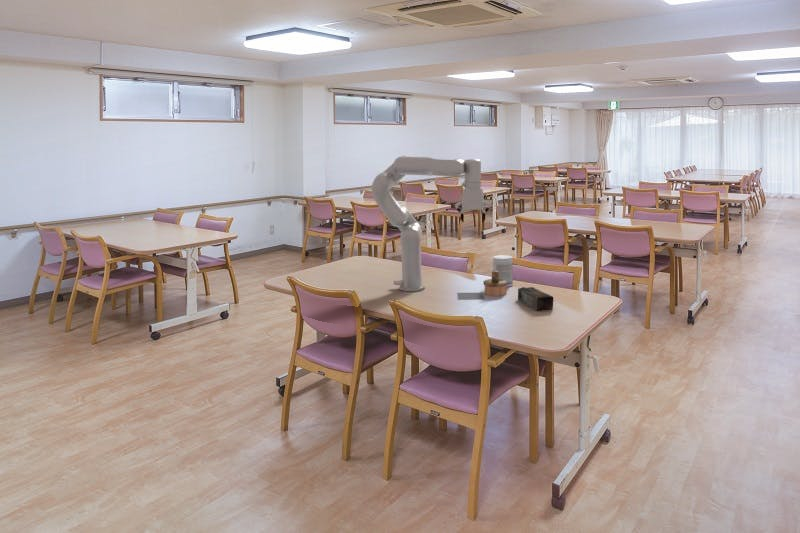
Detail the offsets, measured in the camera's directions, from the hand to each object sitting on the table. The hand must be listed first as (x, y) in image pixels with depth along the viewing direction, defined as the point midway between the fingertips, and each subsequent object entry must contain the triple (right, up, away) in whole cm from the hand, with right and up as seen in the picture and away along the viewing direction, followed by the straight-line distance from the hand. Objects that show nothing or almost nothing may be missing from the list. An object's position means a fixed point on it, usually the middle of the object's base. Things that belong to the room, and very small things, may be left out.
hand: (472, 221), depth 289 cm
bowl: (+10, -35, -3) cm, 36 cm away
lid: (+10, -30, -4) cm, 32 cm away
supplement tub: (+16, -31, +12) cm, 37 cm away
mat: (-2, -36, -7) cm, 37 cm away
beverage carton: (+25, -39, -22) cm, 51 cm away
